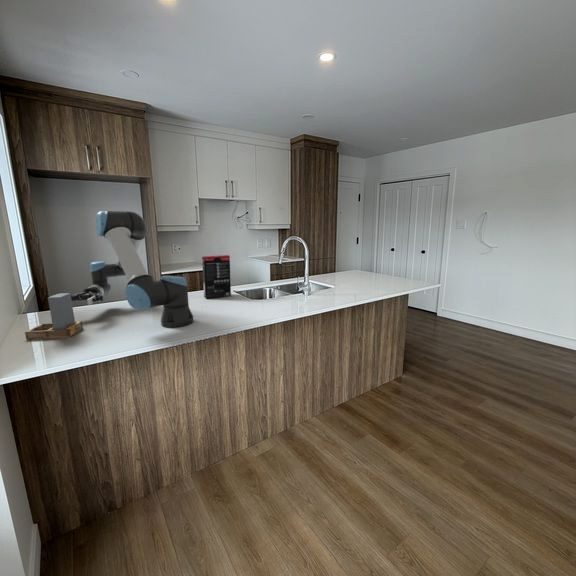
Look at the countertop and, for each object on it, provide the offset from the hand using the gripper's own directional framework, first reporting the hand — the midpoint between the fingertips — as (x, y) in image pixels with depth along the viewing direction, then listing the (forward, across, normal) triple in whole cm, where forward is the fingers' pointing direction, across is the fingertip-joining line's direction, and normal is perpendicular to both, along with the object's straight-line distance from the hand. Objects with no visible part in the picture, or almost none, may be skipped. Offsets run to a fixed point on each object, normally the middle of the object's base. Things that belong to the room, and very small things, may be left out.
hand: (72, 302), depth 150 cm
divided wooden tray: (+10, +4, -12) cm, 16 cm away
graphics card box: (-50, -63, -12) cm, 81 cm away
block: (+10, 0, -11) cm, 15 cm away
